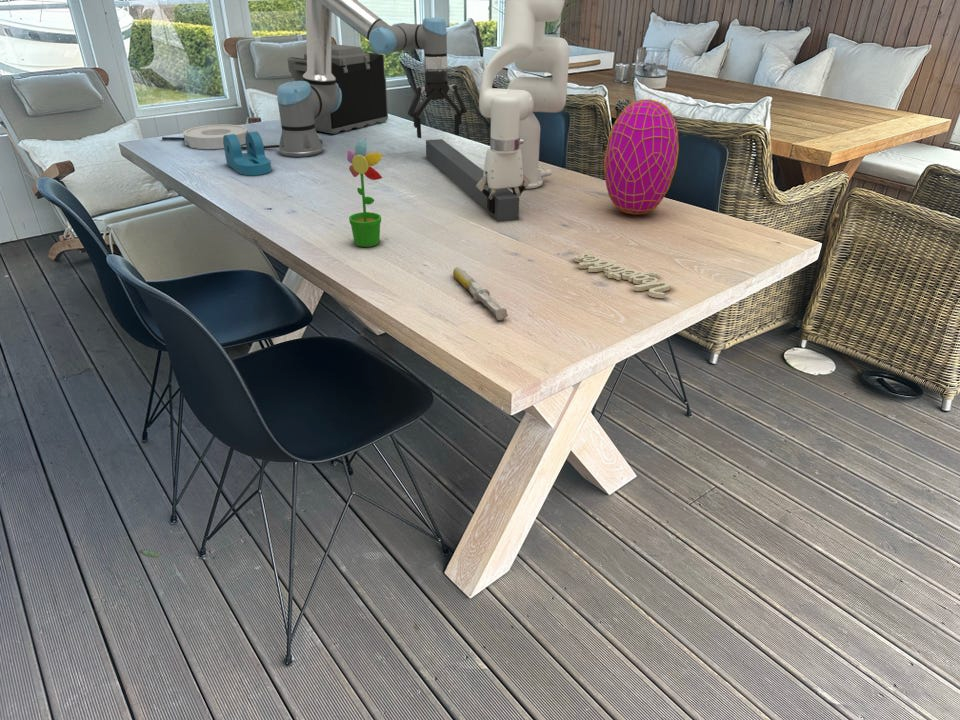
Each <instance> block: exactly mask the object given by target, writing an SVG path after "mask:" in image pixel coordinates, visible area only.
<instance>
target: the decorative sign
mask: <svg viewBox="0 0 960 720" xmlns="http://www.w3.org/2000/svg"><path fill="white" fill-rule="evenodd" d="M574 262H575V263H578V269H588V270H587V272H588V273H598V272H603V273H604V276H606V277H607V278H608V279H614V280H617V281H621V279H622V280H627V281H628V282H630V283H633V284H634V285H633V291H636V292H643V291H647V290H648V293H647V294H648V296H649V297H652V298H656V299H664V298H665V295H666V292H668V291H669V290H670V289H671V283H670V282H668V281H659V279H658V272H657V271H648V272H639V271H637V270H634V269H630V268H628V267H627V266H626V267H625V266H624V265H619V264H618V263H615V262H611V261H610V260H604V258H601V257H598V256H596V255H592V254H590V253H587V252H586V253H582V254H581V255H580V256H578V255H575V256H574Z"/></svg>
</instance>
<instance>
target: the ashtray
mask: <svg viewBox="0 0 960 720" xmlns="http://www.w3.org/2000/svg"><path fill="white" fill-rule="evenodd" d="M247 132H249V129H248V127H246V126H244V125H240V124H227V123H226V124H225V123H223V124H207V125H200V126H194V127H190V128H188V129H186V130H184V131H183V132H182V133H183V138H184V140H183V141H184V144H185V146H186V147H189V148H191V149H199V150H219V149H220V150H221V149H224V144H223V137H224V135H230V134H235V135H236V136H237V138H238V140H239V142H240V146H244V145H246V139H245V137H246V133H247Z"/></svg>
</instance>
